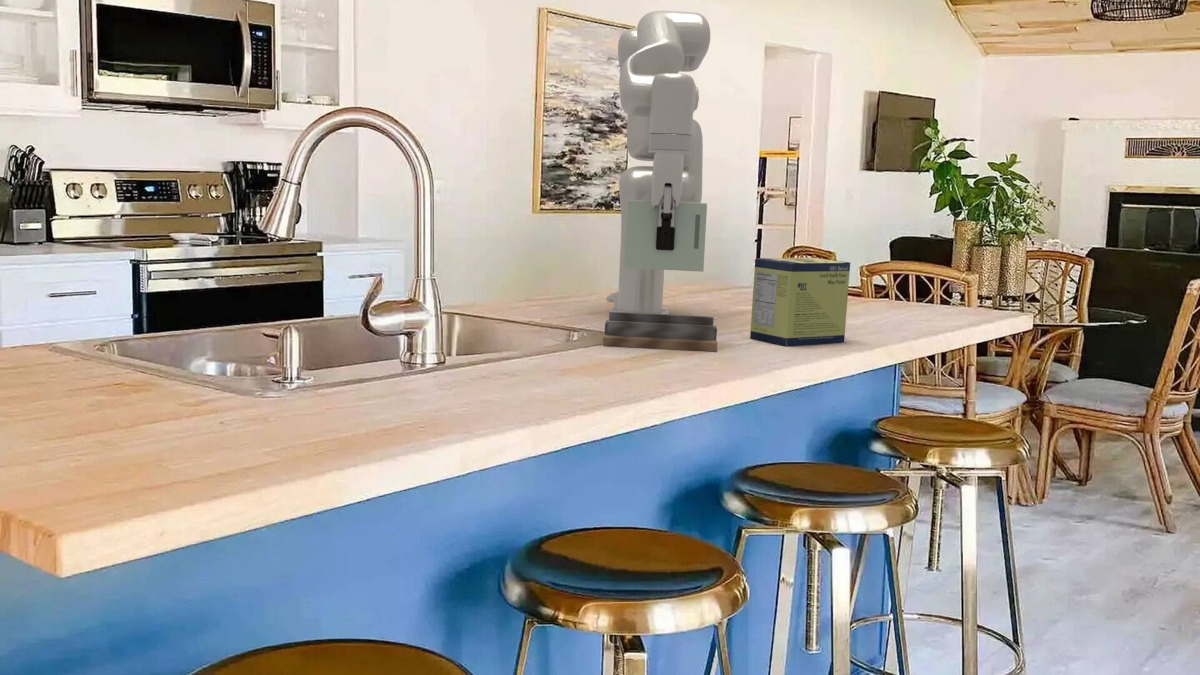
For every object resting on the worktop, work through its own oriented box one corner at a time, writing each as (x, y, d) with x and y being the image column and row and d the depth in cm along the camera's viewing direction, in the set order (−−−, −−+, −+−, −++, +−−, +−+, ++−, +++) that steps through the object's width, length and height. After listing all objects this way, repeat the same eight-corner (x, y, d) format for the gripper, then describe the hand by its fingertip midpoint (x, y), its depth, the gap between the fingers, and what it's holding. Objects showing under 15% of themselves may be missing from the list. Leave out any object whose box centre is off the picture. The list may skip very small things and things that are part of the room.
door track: (603, 345, 207) (604, 317, 207) (606, 336, 219) (607, 309, 219) (716, 351, 207) (718, 323, 206) (713, 341, 218) (715, 314, 218)
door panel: (624, 267, 210) (627, 200, 208) (625, 266, 213) (628, 199, 211) (703, 271, 209) (707, 203, 207) (702, 270, 212) (706, 203, 210)
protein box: (845, 342, 225) (851, 261, 223) (786, 347, 216) (791, 262, 214) (807, 335, 234) (812, 256, 231) (748, 338, 225) (753, 257, 222)
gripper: (649, 145, 216) (644, 245, 219) (648, 143, 200) (643, 251, 202) (690, 147, 216) (684, 247, 218) (692, 145, 200) (686, 253, 202)
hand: (664, 248), depth 210 cm, fingers closed on door panel, 3 cm apart
